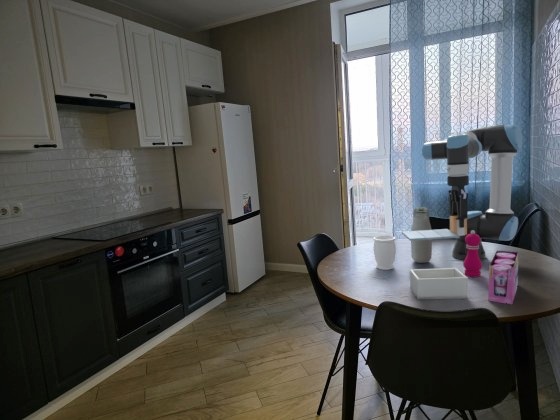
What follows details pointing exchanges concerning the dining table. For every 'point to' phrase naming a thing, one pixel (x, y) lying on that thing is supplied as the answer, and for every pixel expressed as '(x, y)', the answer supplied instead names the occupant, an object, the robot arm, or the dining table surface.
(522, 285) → the dining table surface
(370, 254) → the dining table surface
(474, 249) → the pepper mill
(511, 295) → the gum box
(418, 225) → the grey rounded cylinder
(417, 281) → the cabinet body
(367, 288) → the dining table surface
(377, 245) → the jar
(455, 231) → the lid
